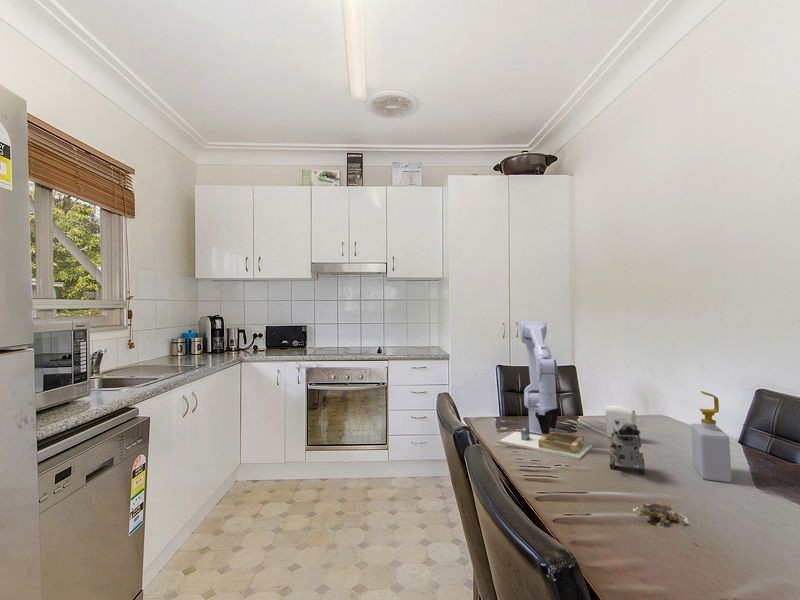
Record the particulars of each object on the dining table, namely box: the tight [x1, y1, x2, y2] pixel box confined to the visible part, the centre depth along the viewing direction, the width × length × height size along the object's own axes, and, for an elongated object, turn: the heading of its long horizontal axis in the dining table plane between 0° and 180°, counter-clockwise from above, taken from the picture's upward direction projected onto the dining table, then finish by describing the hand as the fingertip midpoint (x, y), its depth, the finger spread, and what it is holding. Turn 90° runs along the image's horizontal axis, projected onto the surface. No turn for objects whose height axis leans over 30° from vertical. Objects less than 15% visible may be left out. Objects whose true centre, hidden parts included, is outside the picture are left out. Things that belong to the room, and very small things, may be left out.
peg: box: [520, 426, 531, 441], centre depth 147 cm, size 3×3×4 cm
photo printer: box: [605, 404, 637, 439], centre depth 147 cm, size 10×4×12 cm, turn 39°
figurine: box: [609, 419, 646, 475], centre depth 118 cm, size 9×12×15 cm
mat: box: [539, 440, 591, 456], centre depth 138 cm, size 13×13×1 cm
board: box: [498, 431, 593, 460], centre depth 142 cm, size 14×28×1 cm, turn 49°
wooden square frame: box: [538, 427, 585, 454], centre depth 139 cm, size 12×13×6 cm
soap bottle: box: [690, 390, 732, 483], centre depth 115 cm, size 12×7×23 cm, turn 155°
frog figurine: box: [632, 501, 690, 528], centre depth 91 cm, size 12×12×4 cm
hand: (548, 431), depth 141 cm, fingers open, 7 cm apart
